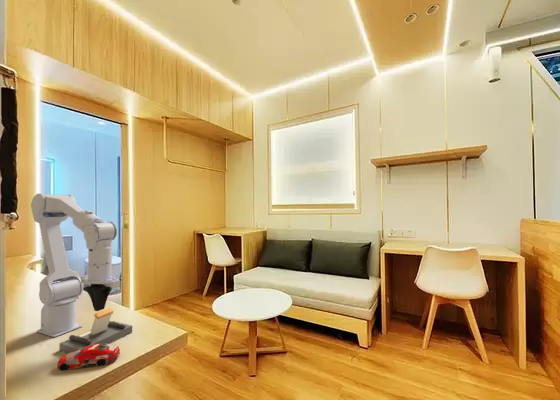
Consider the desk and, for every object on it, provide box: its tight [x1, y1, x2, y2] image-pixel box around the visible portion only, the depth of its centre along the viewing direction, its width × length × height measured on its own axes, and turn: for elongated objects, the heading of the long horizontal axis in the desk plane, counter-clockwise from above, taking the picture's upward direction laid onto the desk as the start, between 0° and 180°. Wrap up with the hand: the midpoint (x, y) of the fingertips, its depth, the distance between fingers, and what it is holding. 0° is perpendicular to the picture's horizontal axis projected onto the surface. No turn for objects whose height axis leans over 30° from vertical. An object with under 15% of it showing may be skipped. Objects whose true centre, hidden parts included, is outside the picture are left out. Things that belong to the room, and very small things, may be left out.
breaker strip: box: [59, 320, 133, 354], centre depth 77 cm, size 9×15×3 cm, turn 157°
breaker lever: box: [89, 308, 114, 337], centre depth 76 cm, size 2×5×7 cm, turn 157°
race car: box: [57, 343, 121, 372], centre depth 66 cm, size 13×5×4 cm, turn 103°
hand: (99, 309), depth 77 cm, fingers closed
